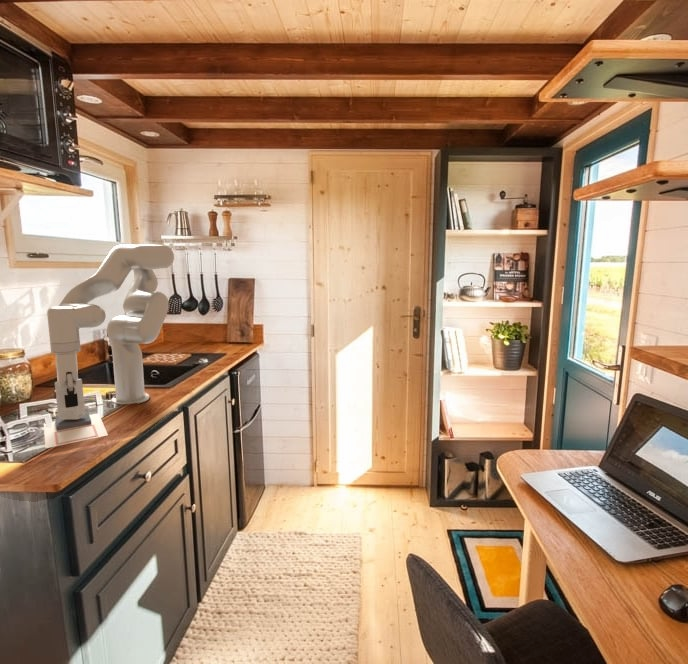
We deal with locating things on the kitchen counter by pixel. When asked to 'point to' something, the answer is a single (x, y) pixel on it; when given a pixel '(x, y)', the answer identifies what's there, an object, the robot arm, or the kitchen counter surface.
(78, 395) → the skincare box
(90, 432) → the stamping board
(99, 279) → the robot arm
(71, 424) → the ink pad
